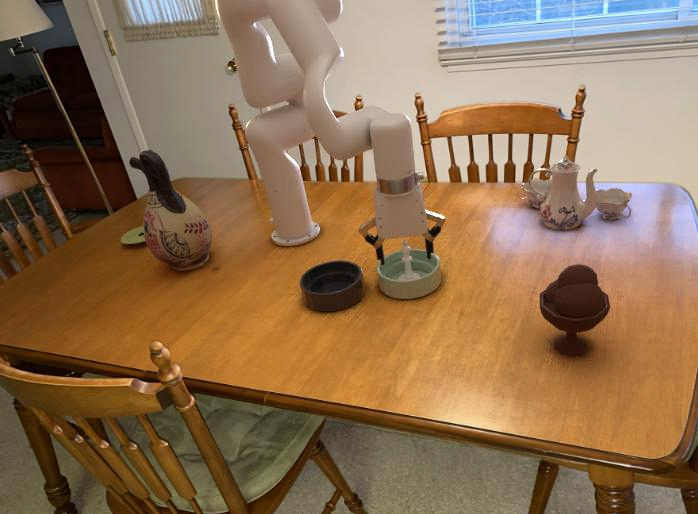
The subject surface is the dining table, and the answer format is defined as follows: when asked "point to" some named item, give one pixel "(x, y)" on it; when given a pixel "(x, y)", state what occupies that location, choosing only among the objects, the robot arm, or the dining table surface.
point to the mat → (134, 236)
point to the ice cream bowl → (574, 307)
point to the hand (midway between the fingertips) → (405, 258)
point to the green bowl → (419, 265)
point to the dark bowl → (332, 285)
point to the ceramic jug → (171, 218)
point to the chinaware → (572, 197)
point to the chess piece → (407, 263)
